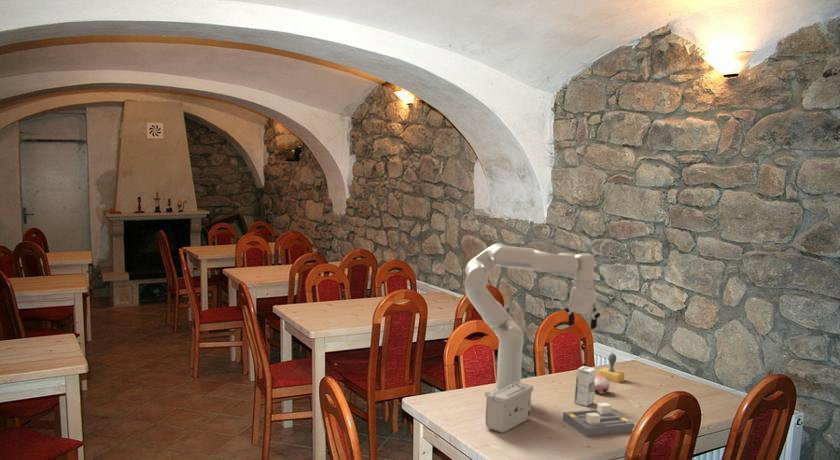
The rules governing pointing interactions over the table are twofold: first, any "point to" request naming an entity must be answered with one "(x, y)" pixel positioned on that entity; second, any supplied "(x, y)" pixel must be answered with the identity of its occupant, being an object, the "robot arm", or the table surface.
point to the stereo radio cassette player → (508, 406)
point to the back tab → (604, 408)
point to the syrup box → (585, 385)
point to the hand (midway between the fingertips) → (582, 326)
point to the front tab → (592, 418)
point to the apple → (601, 384)
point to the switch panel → (607, 425)
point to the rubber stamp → (612, 371)
